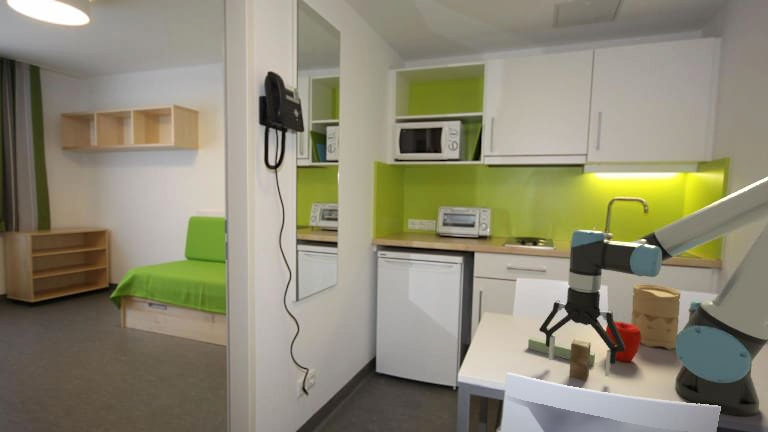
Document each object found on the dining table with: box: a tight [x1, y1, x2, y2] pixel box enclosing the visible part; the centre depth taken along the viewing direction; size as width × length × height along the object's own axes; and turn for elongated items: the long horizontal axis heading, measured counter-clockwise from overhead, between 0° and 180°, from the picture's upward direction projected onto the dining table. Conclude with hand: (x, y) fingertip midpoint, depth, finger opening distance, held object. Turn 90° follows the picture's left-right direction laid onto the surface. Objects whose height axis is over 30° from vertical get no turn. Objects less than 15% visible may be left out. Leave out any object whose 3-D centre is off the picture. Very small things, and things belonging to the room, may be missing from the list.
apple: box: [605, 321, 642, 363], centre depth 111 cm, size 9×9×11 cm
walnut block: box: [569, 338, 592, 382], centre depth 100 cm, size 4×4×9 cm
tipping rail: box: [527, 336, 596, 366], centre depth 112 cm, size 18×2×3 cm, turn 53°
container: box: [630, 283, 681, 351], centre depth 124 cm, size 13×13×18 cm
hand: (578, 366), depth 100 cm, fingers open, 13 cm apart
